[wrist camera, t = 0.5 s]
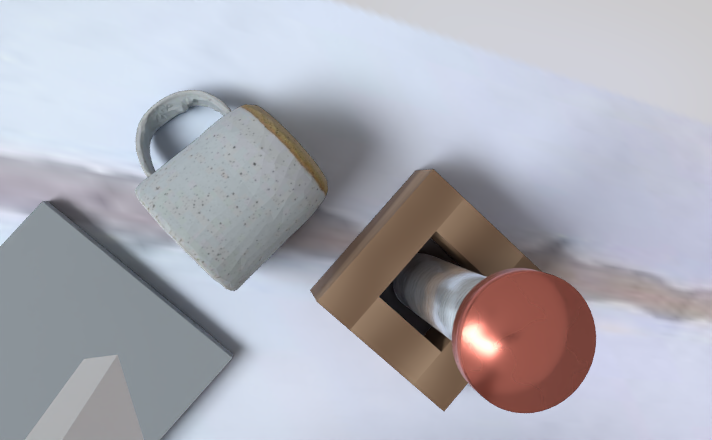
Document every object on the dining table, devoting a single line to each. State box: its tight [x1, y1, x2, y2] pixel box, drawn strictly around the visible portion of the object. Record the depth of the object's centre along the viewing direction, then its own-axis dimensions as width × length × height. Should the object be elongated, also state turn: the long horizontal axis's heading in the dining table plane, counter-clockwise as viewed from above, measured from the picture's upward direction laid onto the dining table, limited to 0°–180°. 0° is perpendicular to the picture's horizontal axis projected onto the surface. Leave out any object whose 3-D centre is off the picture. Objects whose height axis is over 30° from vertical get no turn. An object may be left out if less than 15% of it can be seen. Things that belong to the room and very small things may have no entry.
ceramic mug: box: [135, 90, 328, 291], centre depth 35 cm, size 11×8×8 cm
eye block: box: [310, 169, 542, 411], centre depth 39 cm, size 10×10×4 cm
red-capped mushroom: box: [393, 254, 596, 413], centre depth 33 cm, size 6×6×16 cm
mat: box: [0, 201, 233, 440], centre depth 37 cm, size 14×14×1 cm
